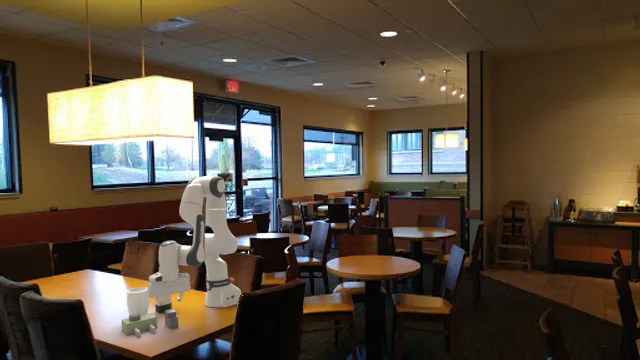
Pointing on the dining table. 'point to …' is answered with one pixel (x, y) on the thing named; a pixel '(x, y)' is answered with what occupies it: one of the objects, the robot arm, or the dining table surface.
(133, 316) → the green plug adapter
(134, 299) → the jar
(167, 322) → the upright grey box
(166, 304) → the wine bottle
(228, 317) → the dining table surface
